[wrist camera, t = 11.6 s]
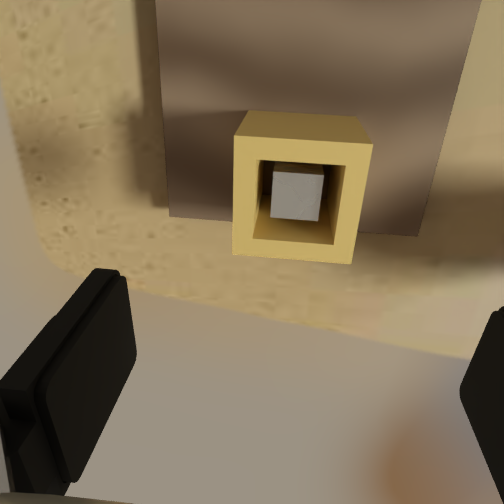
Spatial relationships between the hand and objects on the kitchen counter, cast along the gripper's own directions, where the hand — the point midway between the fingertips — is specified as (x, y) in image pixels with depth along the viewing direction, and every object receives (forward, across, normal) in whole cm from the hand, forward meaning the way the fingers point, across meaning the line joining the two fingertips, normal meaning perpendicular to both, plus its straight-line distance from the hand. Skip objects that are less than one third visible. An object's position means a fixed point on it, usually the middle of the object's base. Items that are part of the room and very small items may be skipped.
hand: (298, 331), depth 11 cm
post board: (+17, 0, -4) cm, 18 cm away
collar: (+16, 0, +1) cm, 16 cm away
